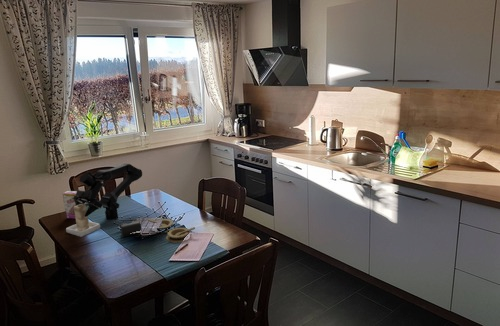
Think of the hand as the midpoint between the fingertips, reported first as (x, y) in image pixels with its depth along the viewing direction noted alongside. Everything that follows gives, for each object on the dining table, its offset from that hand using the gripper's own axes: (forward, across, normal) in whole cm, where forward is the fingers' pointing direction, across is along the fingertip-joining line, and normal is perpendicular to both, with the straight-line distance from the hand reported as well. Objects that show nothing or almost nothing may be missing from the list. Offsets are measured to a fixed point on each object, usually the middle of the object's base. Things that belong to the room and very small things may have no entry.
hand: (79, 215), depth 209 cm
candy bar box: (-1, -20, +14) cm, 25 cm away
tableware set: (-8, +46, +23) cm, 52 cm away
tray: (+6, 0, +7) cm, 9 cm away
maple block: (+6, 0, +7) cm, 9 cm away
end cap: (0, +29, +13) cm, 32 cm away
